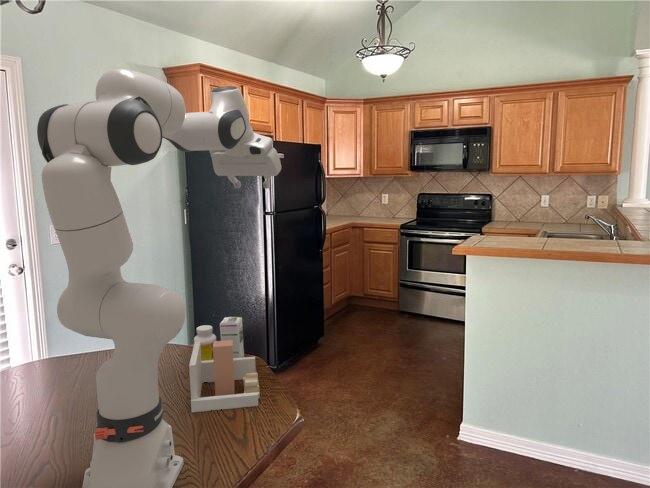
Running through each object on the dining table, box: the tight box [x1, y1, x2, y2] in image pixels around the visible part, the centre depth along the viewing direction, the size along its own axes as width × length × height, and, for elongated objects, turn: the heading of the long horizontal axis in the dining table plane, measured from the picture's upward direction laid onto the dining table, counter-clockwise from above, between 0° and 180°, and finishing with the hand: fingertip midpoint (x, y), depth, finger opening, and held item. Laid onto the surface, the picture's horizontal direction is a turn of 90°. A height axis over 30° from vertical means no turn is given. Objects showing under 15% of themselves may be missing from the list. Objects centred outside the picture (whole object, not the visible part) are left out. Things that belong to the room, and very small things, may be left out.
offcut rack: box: [188, 341, 259, 413], centre depth 125 cm, size 18×16×12 cm
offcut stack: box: [242, 372, 261, 399], centre depth 127 cm, size 8×4×4 cm, turn 11°
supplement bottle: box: [193, 324, 217, 361], centre depth 141 cm, size 7×7×13 cm
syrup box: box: [219, 316, 245, 358], centre depth 143 cm, size 6×6×14 cm
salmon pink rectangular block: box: [213, 340, 236, 396], centre depth 125 cm, size 4×5×14 cm
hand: (252, 187), depth 138 cm, fingers open, 8 cm apart
